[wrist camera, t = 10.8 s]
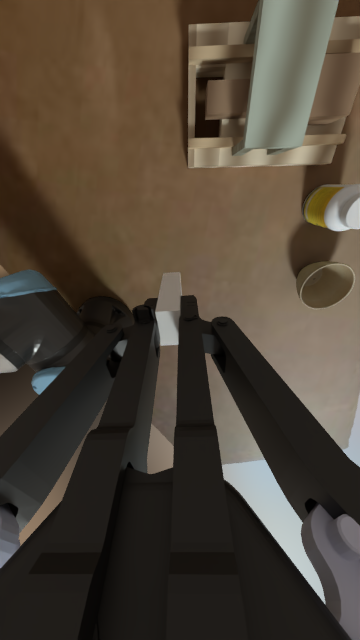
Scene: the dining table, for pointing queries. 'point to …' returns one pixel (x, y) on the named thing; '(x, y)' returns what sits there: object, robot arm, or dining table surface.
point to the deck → (239, 124)
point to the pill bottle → (334, 207)
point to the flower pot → (324, 284)
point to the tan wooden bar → (329, 101)
